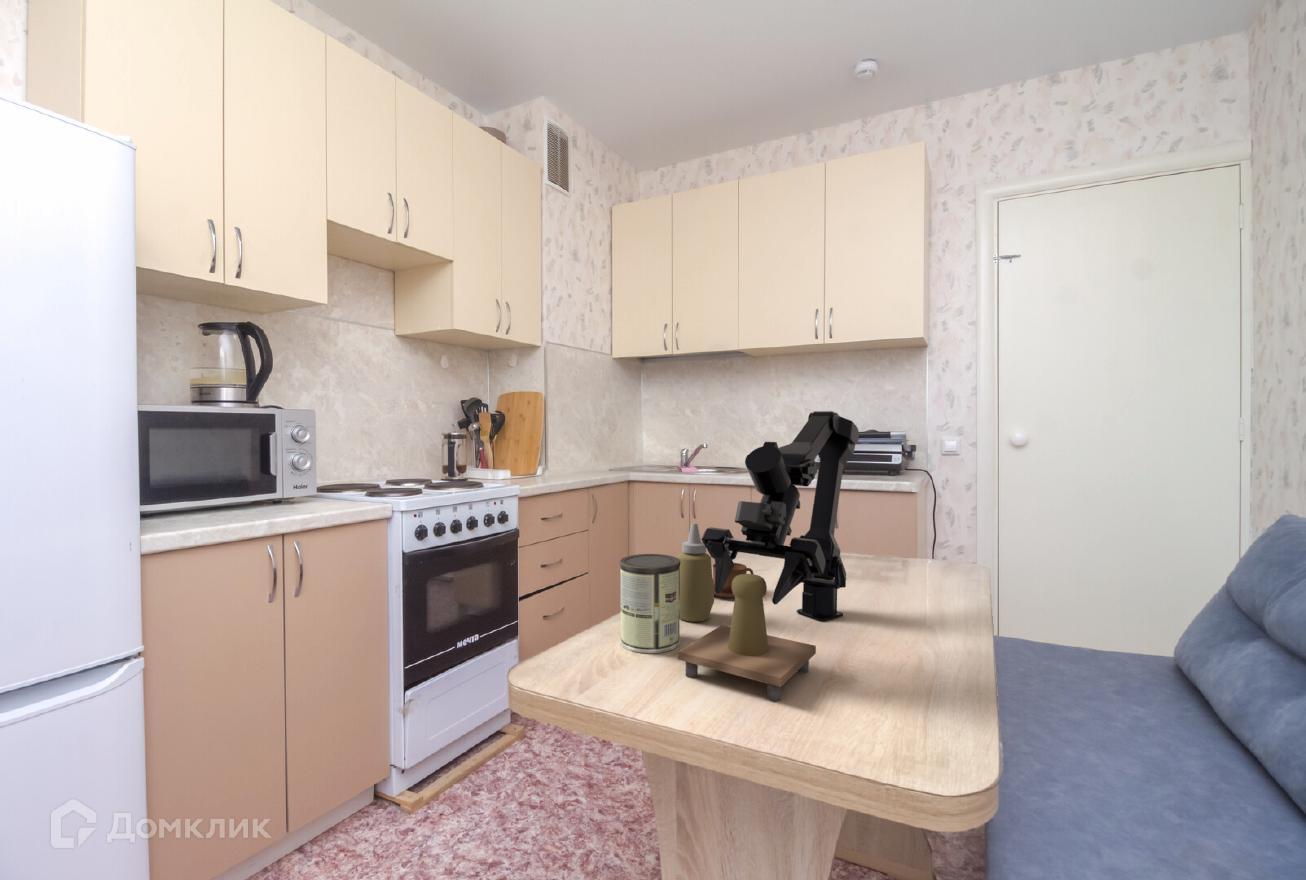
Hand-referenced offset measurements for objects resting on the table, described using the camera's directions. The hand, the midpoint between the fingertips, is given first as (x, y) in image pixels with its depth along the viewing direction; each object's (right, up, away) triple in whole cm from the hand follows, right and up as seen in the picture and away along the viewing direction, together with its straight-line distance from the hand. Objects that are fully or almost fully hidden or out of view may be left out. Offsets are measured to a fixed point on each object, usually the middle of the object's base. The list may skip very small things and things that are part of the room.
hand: (744, 597), depth 89 cm
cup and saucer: (+3, -11, +43) cm, 45 cm away
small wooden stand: (+1, -12, +2) cm, 12 cm away
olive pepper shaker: (+1, -8, +2) cm, 8 cm away
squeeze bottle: (-6, -11, +27) cm, 29 cm away
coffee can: (-14, -11, +14) cm, 23 cm away
